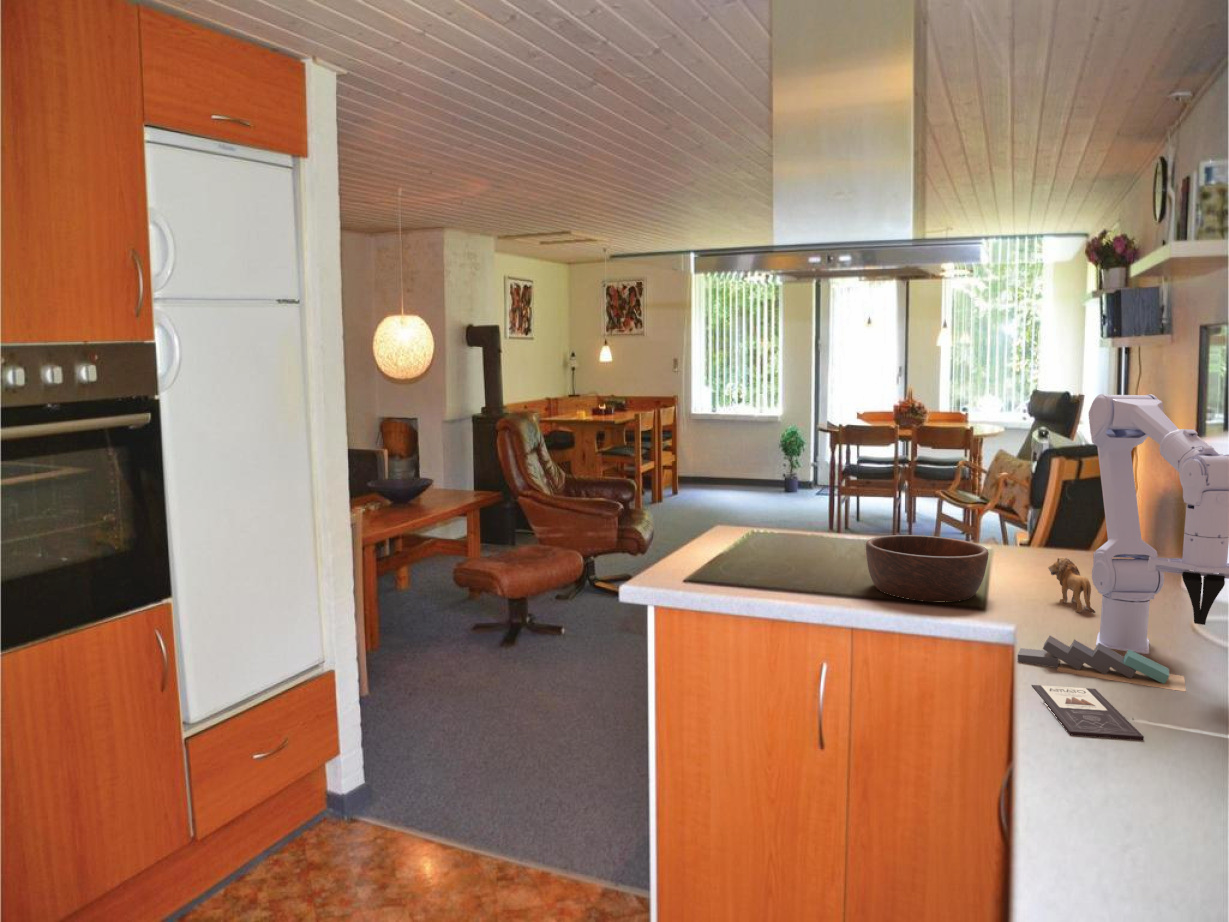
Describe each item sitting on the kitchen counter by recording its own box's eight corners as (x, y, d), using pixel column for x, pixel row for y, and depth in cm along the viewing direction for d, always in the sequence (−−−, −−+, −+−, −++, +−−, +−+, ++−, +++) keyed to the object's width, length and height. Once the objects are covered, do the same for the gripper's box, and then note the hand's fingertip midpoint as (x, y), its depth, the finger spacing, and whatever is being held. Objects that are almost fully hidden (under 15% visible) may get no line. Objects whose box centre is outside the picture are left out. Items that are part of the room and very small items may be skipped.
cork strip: (1060, 659, 152) (1061, 657, 152) (1183, 678, 143) (1183, 676, 143) (1056, 673, 145) (1056, 670, 145) (1185, 694, 137) (1185, 691, 137)
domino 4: (1130, 678, 142) (1092, 656, 144) (1131, 671, 145) (1093, 650, 148) (1136, 671, 141) (1097, 649, 144) (1136, 664, 145) (1098, 642, 147)
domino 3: (1105, 674, 144) (1067, 653, 146) (1106, 667, 147) (1069, 647, 149) (1110, 667, 143) (1072, 645, 146) (1111, 660, 147) (1074, 639, 149)
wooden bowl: (852, 597, 192) (854, 549, 191) (877, 573, 214) (879, 530, 213) (979, 613, 181) (981, 562, 180) (991, 587, 203) (994, 541, 202)
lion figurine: (1043, 597, 194) (1045, 555, 193) (1067, 597, 195) (1070, 555, 194) (1082, 615, 180) (1085, 570, 179) (1108, 615, 180) (1111, 570, 179)
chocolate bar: (1070, 731, 121) (1031, 684, 138) (1069, 738, 121) (1031, 690, 138) (1143, 736, 119) (1095, 688, 137) (1143, 743, 119) (1094, 694, 137)
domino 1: (1058, 667, 147) (1017, 663, 150) (1060, 660, 150) (1020, 656, 153) (1058, 658, 147) (1017, 654, 150) (1060, 651, 150) (1020, 648, 153)
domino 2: (1078, 670, 145) (1042, 648, 148) (1080, 663, 149) (1045, 642, 151) (1084, 663, 145) (1047, 641, 147) (1085, 656, 148) (1049, 635, 151)
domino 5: (1164, 684, 140) (1123, 663, 142) (1163, 676, 143) (1124, 657, 146) (1169, 676, 139) (1128, 655, 142) (1168, 668, 143) (1128, 649, 145)
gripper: (1150, 533, 138) (1144, 621, 139) (1268, 544, 131) (1260, 636, 132) (1150, 526, 144) (1144, 611, 145) (1262, 536, 137) (1255, 625, 138)
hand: (1199, 622), depth 139 cm, fingers closed
